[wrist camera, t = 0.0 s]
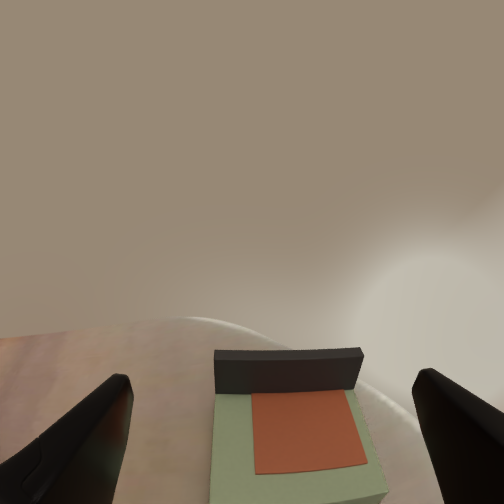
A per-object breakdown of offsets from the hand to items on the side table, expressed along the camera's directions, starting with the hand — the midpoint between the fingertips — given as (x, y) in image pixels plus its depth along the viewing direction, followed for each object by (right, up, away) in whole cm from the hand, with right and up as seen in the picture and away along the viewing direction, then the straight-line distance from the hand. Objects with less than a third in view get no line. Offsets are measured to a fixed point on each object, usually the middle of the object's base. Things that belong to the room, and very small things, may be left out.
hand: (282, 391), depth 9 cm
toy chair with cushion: (+2, -13, +13) cm, 19 cm away
